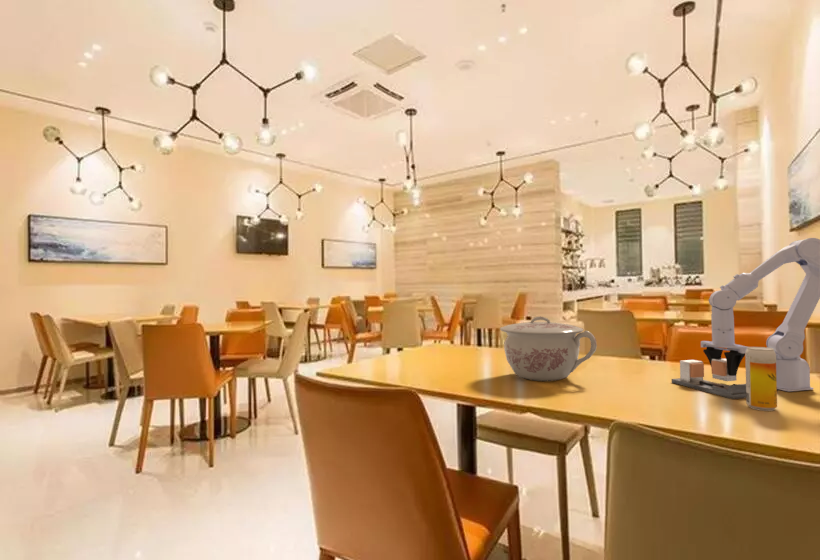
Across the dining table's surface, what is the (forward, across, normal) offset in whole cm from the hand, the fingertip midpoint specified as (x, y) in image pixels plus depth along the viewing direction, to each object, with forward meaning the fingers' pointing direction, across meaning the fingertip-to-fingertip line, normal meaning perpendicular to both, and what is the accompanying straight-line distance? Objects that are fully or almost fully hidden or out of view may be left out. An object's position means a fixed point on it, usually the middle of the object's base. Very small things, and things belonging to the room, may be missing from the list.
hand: (724, 373), depth 139 cm
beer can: (+3, +23, -14) cm, 27 cm away
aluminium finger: (+2, 0, 0) cm, 2 cm away
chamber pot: (+3, -26, -47) cm, 54 cm away
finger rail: (+3, +4, -9) cm, 10 cm away
